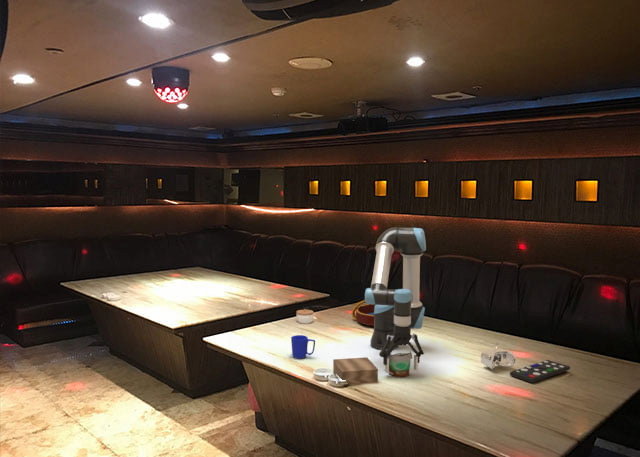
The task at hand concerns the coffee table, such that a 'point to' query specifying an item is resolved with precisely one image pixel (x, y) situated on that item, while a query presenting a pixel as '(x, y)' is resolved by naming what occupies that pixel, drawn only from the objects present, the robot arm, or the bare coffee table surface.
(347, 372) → the walnut riser
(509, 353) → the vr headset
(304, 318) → the lidded jar
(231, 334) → the coffee table surface
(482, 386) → the coffee table surface
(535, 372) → the remote control
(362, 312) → the decorative basket
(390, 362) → the food container
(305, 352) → the mug
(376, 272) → the robot arm
